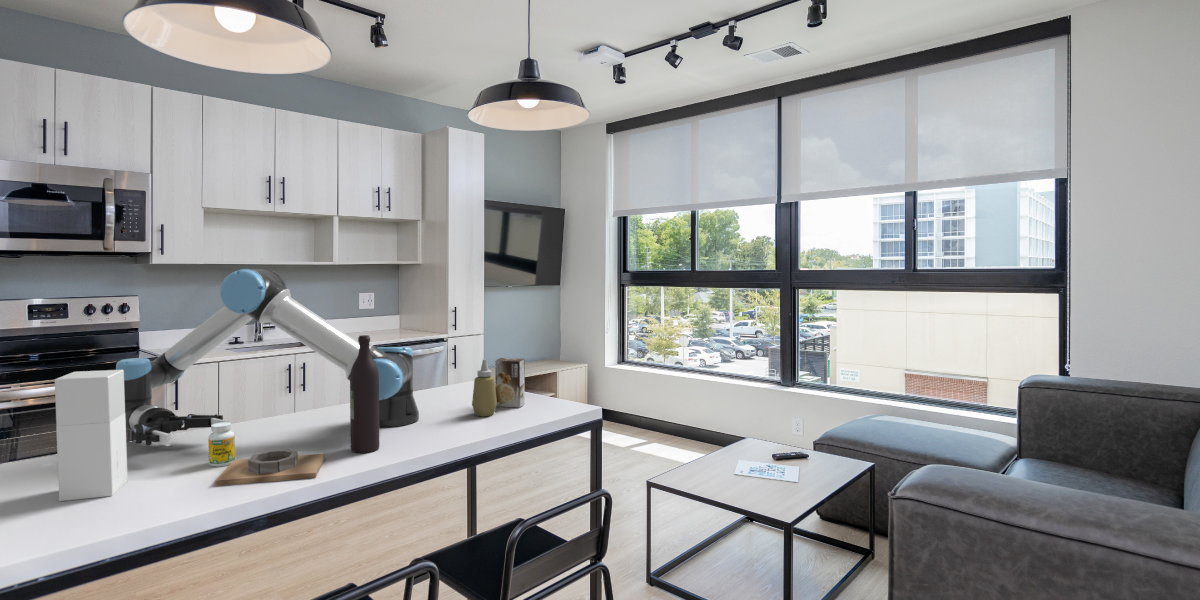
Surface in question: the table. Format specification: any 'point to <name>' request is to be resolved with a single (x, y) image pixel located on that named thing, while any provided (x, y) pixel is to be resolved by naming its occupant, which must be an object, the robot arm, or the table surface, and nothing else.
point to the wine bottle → (364, 400)
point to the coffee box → (510, 382)
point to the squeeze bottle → (484, 392)
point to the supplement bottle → (221, 445)
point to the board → (271, 468)
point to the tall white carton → (91, 434)
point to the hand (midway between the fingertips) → (199, 433)
